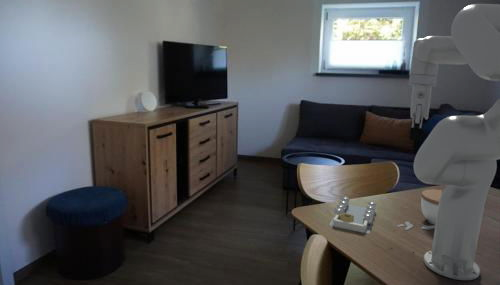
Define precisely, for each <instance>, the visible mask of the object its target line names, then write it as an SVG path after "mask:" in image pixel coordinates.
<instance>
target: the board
mask: <svg viewBox="0 0 500 285" xmlns="http://www.w3.org/2000/svg"><path fill="white" fill-rule="evenodd" d="M366 209H367V207H363V206H357V205H352V204H349V207H347V211H346V212H344V213H349V214H352V215H353V216H354V221H353V223H352V222H347V221H342V220H339V214H336V216H335V218H334V216H333V217H332V219H331V220H330V222H329V224H328V226H330V227H335V228H339V229H344V230H349V231H353V232H358V233H359V232H360V233H362V234H368V235H369V234H370V233H371V229H372V226H373V223H374V219H375V217H376V215H377V214H376V213H377V209H376V212H375V213H374V217H373V221H372V223H371V225H370V226H367V225H368V220H367V219H365V221H364V224H363V215H364V213H365V210H366Z"/></svg>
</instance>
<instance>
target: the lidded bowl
mask: <svg viewBox="0 0 500 285" xmlns="http://www.w3.org/2000/svg"><path fill="white" fill-rule="evenodd" d="M443 191H444V189H432V188H431V189H425V190H423V191H422V192H421V199H420V200H421V201H420V208H421V212H422V214H423V216H424V218H425V219H426V221H427V222H428V223H429V224H431V225H432V226H433V225H436V218H437V212H438V205H439V200H440V196H441V194H442V192H443Z"/></svg>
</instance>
